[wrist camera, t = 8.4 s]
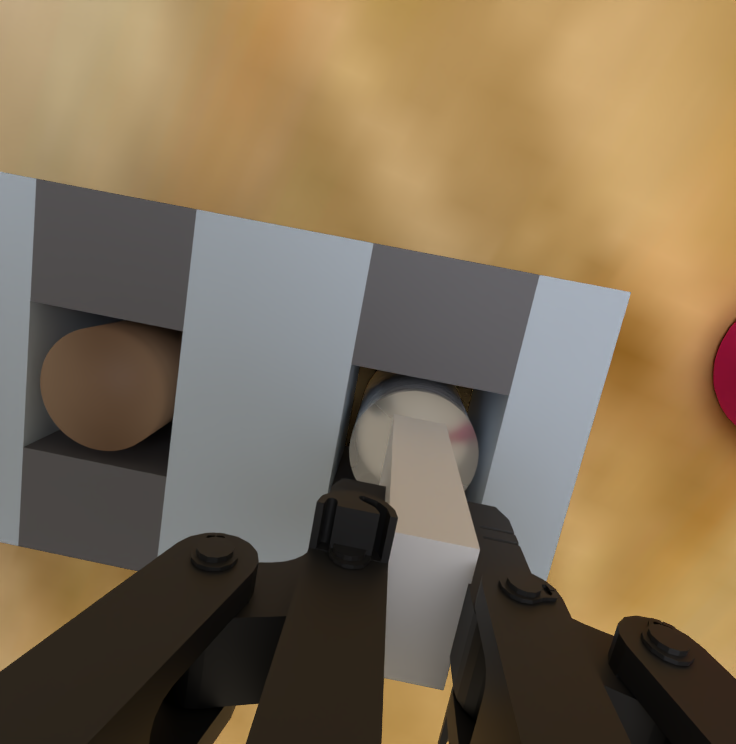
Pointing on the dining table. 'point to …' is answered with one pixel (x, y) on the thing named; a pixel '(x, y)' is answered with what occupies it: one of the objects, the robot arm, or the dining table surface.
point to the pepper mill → (726, 374)
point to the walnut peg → (112, 383)
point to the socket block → (274, 372)
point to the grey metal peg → (412, 401)
